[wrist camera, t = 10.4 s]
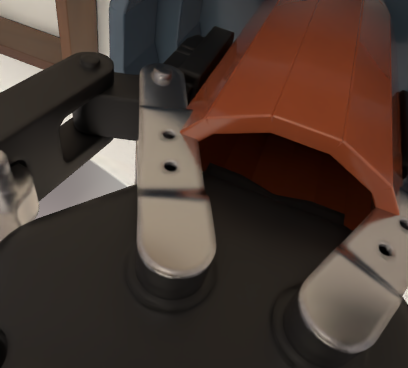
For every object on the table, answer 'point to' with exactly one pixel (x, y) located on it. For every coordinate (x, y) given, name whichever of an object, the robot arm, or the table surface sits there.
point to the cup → (309, 105)
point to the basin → (201, 28)
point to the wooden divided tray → (48, 44)
